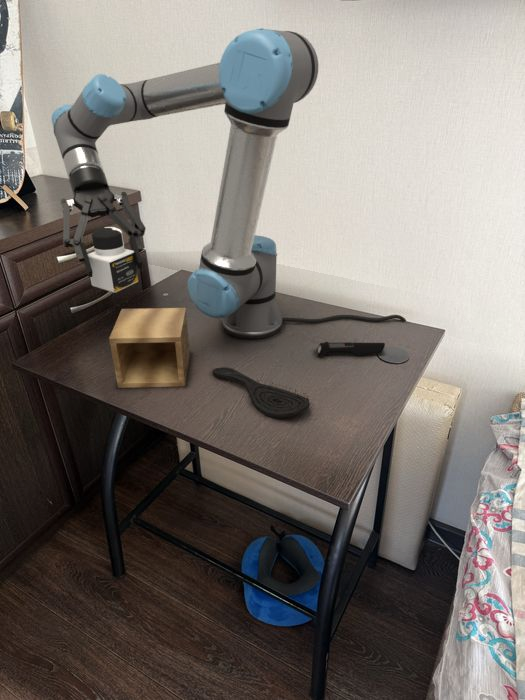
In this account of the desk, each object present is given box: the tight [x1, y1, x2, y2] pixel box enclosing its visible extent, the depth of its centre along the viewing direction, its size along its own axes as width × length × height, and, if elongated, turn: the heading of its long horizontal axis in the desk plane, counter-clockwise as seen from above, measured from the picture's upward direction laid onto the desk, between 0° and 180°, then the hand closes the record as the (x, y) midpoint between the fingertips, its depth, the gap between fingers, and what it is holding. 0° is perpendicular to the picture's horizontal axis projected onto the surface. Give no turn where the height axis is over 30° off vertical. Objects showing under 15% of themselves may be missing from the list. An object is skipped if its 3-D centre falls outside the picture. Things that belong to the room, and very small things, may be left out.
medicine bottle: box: [87, 226, 139, 294], centre depth 105 cm, size 7×7×12 cm
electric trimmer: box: [316, 341, 386, 358], centre depth 116 cm, size 4×16×3 cm, turn 91°
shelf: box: [108, 307, 191, 389], centre depth 107 cm, size 14×13×12 cm
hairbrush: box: [212, 366, 311, 419], centre depth 102 cm, size 8×4×25 cm
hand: (115, 269), depth 103 cm, fingers closed on medicine bottle, 9 cm apart
